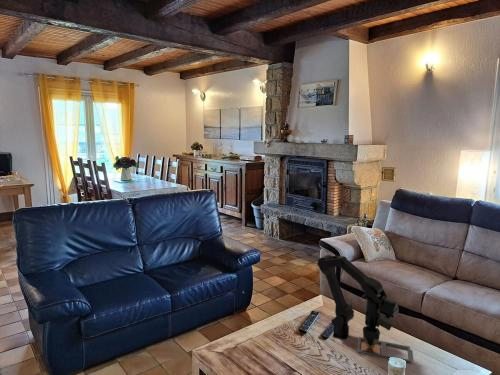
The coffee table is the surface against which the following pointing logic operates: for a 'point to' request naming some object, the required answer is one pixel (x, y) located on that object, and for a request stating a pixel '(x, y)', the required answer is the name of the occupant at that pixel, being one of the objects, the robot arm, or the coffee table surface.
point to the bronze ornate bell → (373, 341)
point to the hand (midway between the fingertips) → (370, 341)
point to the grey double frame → (376, 349)
